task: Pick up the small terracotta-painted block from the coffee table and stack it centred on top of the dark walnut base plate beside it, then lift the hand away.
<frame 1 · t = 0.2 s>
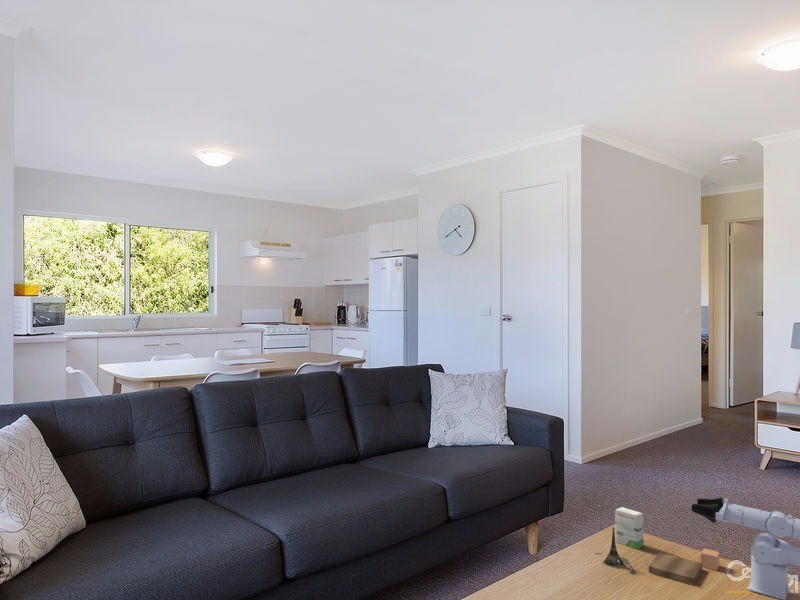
hand: (694, 504, 186), 21 cm above the table, tool horizontal, fingers open, 7 cm apart
eiffel tower figurine: (615, 565, 190), on the table
ink box: (629, 544, 206), on the table
terracotta block: (710, 566, 189), on the table
walnut base: (675, 570, 185), on the table
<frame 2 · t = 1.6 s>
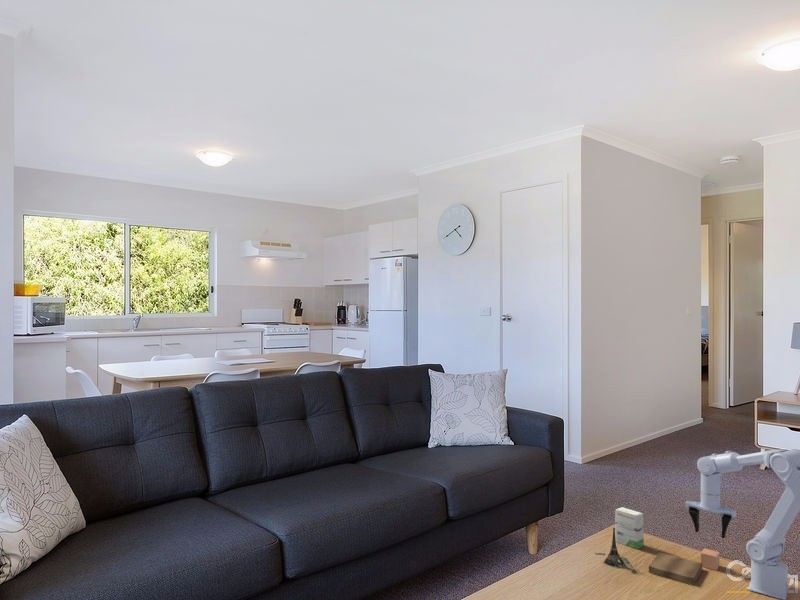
hand: (710, 534, 189), 10 cm above the table, tool pointing down, fingers open, 7 cm apart
nothing on the table moved.
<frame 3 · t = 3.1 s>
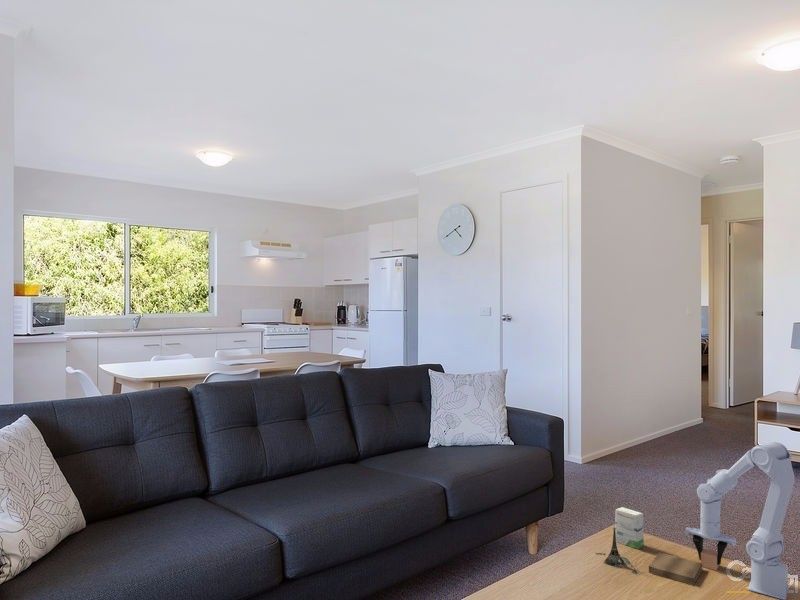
hand: (710, 561, 189), 1 cm above the table, tool pointing down, fingers closed on terracotta block, 5 cm apart
terracotta block: (710, 565, 189), on the table, touching gripper
everything else where it was.
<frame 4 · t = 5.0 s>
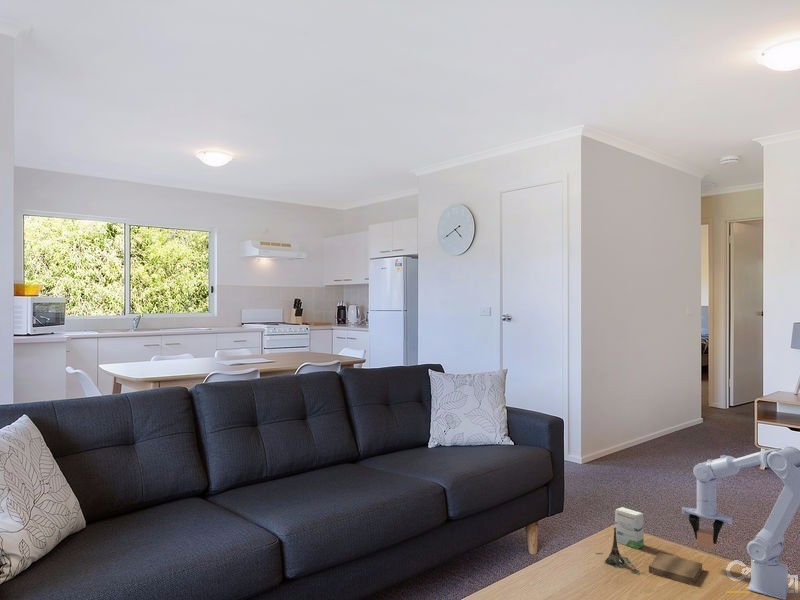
hand: (706, 540, 188), 8 cm above the table, tool pointing down, fingers closed on terracotta block, 5 cm apart
terracotta block: (706, 545, 188), point 7 cm above the table, touching gripper
everything else where it was.
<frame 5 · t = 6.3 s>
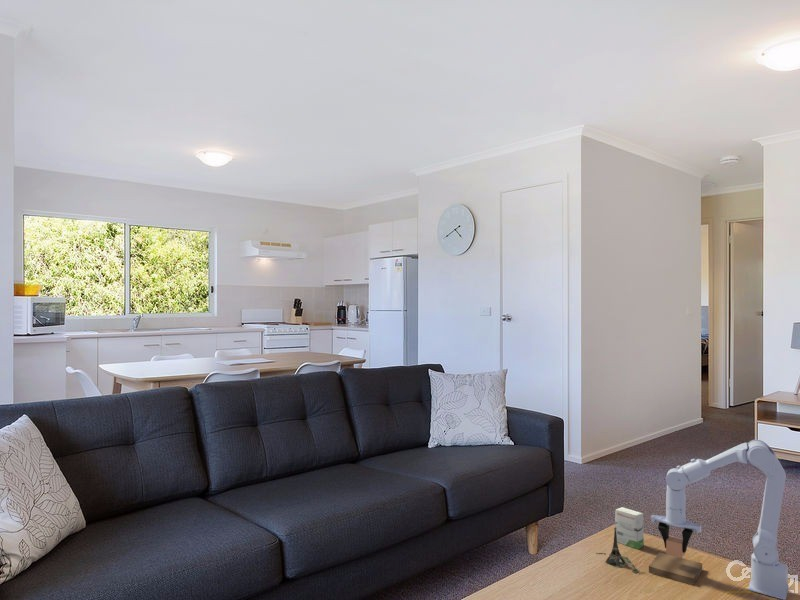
hand: (675, 549, 185), 7 cm above the table, tool pointing down, fingers closed on terracotta block, 5 cm apart
terracotta block: (675, 553, 185), point 6 cm above the table, touching gripper
everything else where it was.
when the fingers open (4 cm above the table, at t = 7.3 s): terracotta block stays where it is, resting on walnut base.
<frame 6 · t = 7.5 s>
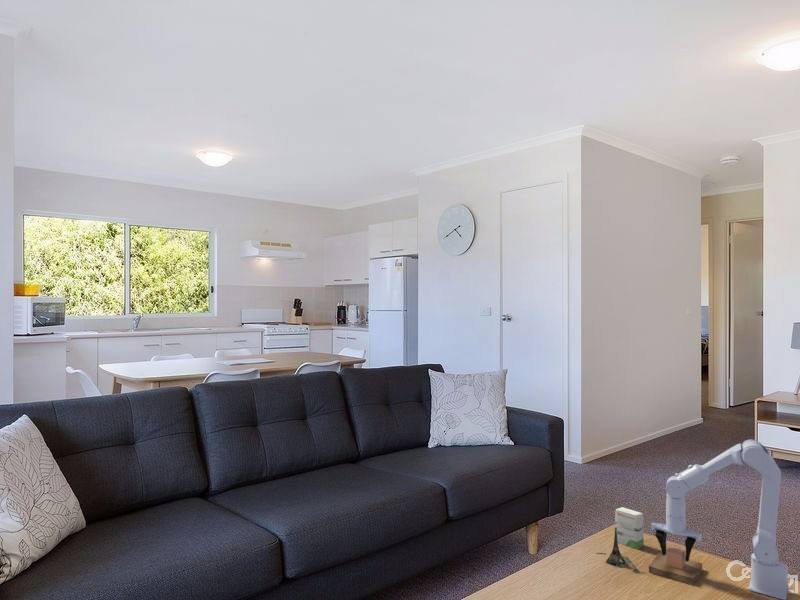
hand: (675, 557, 185), 4 cm above the table, tool pointing down, fingers open, 6 cm apart
terracotta block: (675, 564, 185), point 2 cm above the table, touching walnut base
everything else where it was.
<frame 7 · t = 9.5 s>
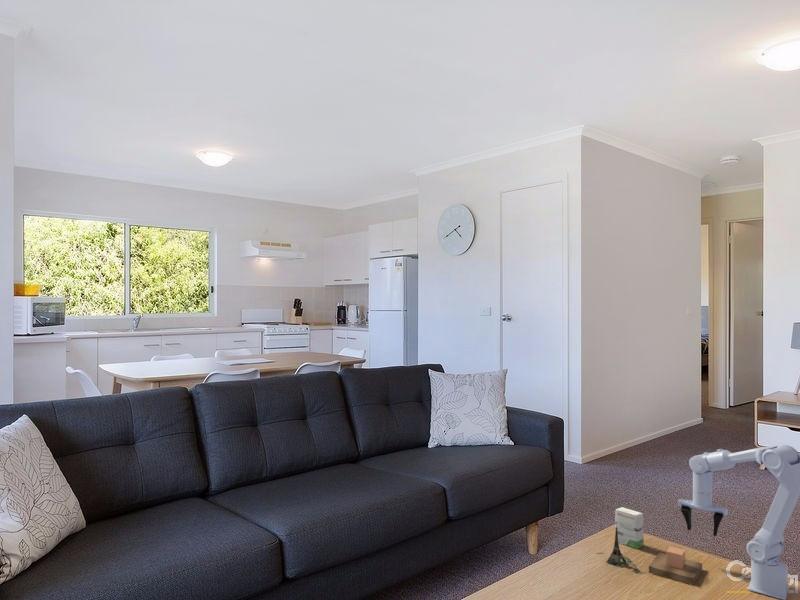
hand: (702, 532, 190), 10 cm above the table, tool pointing down, fingers open, 7 cm apart
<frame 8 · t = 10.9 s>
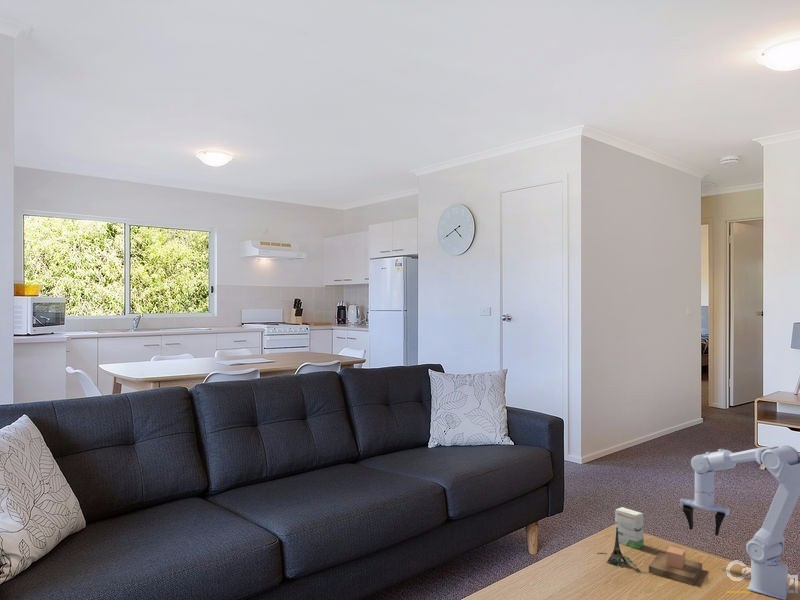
hand: (704, 531, 191), 10 cm above the table, tool pointing down, fingers open, 7 cm apart
at the end: terracotta block inside the target area on the walnut base (0.1 cm from its centre), point 2.0 cm above the walnut base's base; terracotta block tilted 0°; the gripper is holding nothing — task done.
